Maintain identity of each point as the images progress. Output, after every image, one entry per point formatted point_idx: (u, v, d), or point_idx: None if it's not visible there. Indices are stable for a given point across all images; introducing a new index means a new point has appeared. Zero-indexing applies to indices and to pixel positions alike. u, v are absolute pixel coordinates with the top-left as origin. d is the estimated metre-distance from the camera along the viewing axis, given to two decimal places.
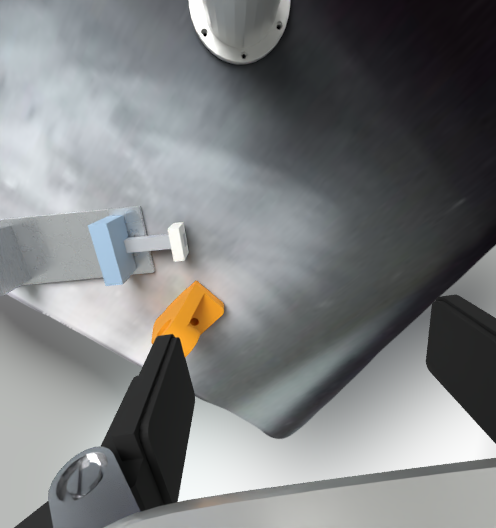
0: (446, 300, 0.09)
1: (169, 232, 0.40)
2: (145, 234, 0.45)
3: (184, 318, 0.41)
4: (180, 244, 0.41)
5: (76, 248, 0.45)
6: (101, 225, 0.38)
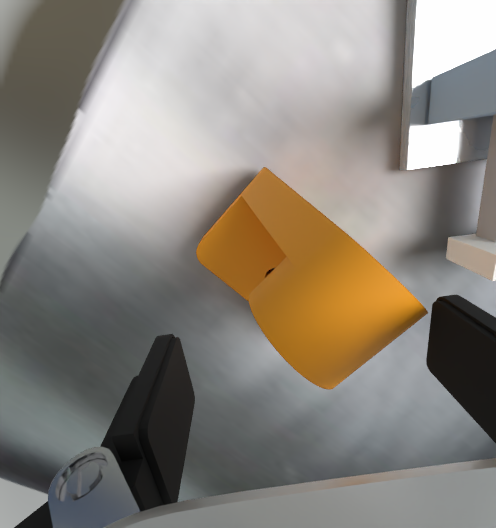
0: (447, 300, 0.09)
1: None
2: None
3: None
4: None
5: None
6: None
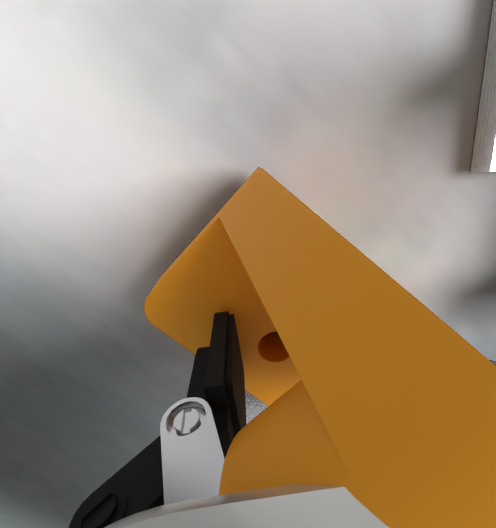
0: None
1: None
2: None
3: None
4: None
5: None
6: None
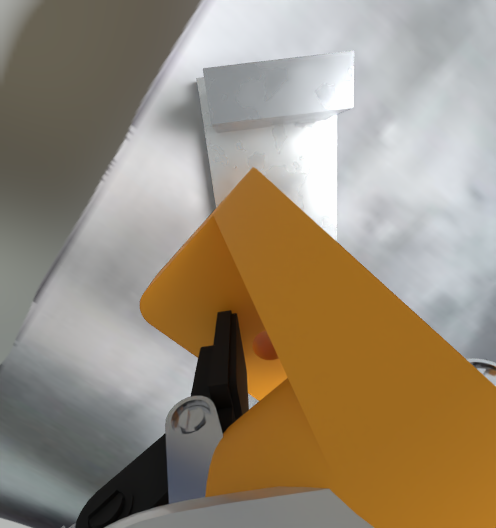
0: None
1: None
2: None
3: None
4: None
5: None
6: None
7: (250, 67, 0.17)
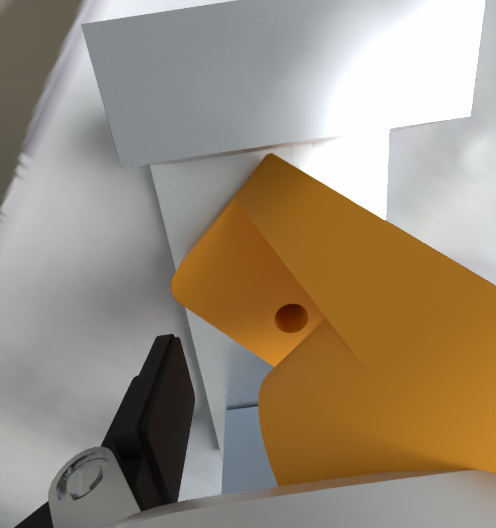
0: None
1: None
2: None
3: None
4: None
5: None
6: None
7: (208, 18, 0.06)
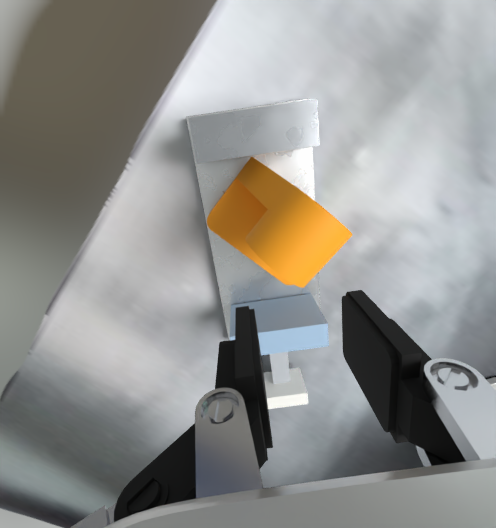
0: (350, 295, 0.10)
1: (303, 394, 0.31)
2: None
3: None
4: (286, 405, 0.31)
5: None
6: (326, 340, 0.26)
7: (228, 115, 0.19)
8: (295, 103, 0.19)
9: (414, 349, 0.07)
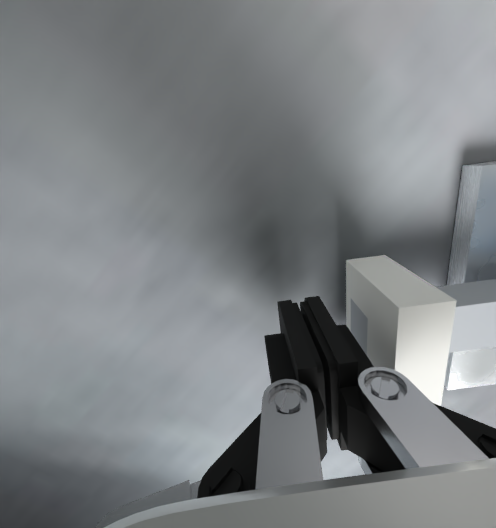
0: (307, 301, 0.10)
1: None
2: None
3: None
4: None
5: None
6: None
7: None
8: None
9: (352, 357, 0.07)
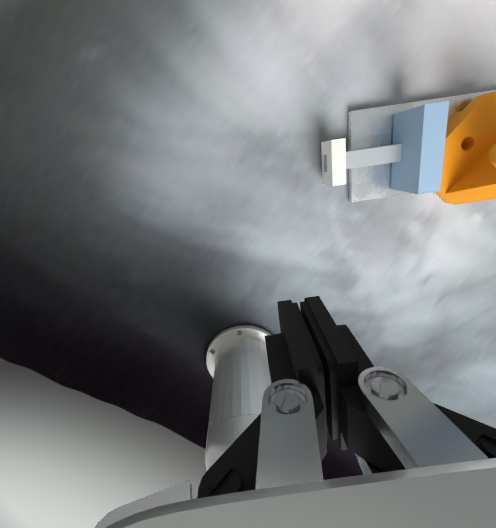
0: (307, 301, 0.10)
1: (344, 180, 0.33)
2: None
3: None
4: (333, 164, 0.32)
5: None
6: (424, 191, 0.32)
7: None
8: None
9: (352, 357, 0.07)
